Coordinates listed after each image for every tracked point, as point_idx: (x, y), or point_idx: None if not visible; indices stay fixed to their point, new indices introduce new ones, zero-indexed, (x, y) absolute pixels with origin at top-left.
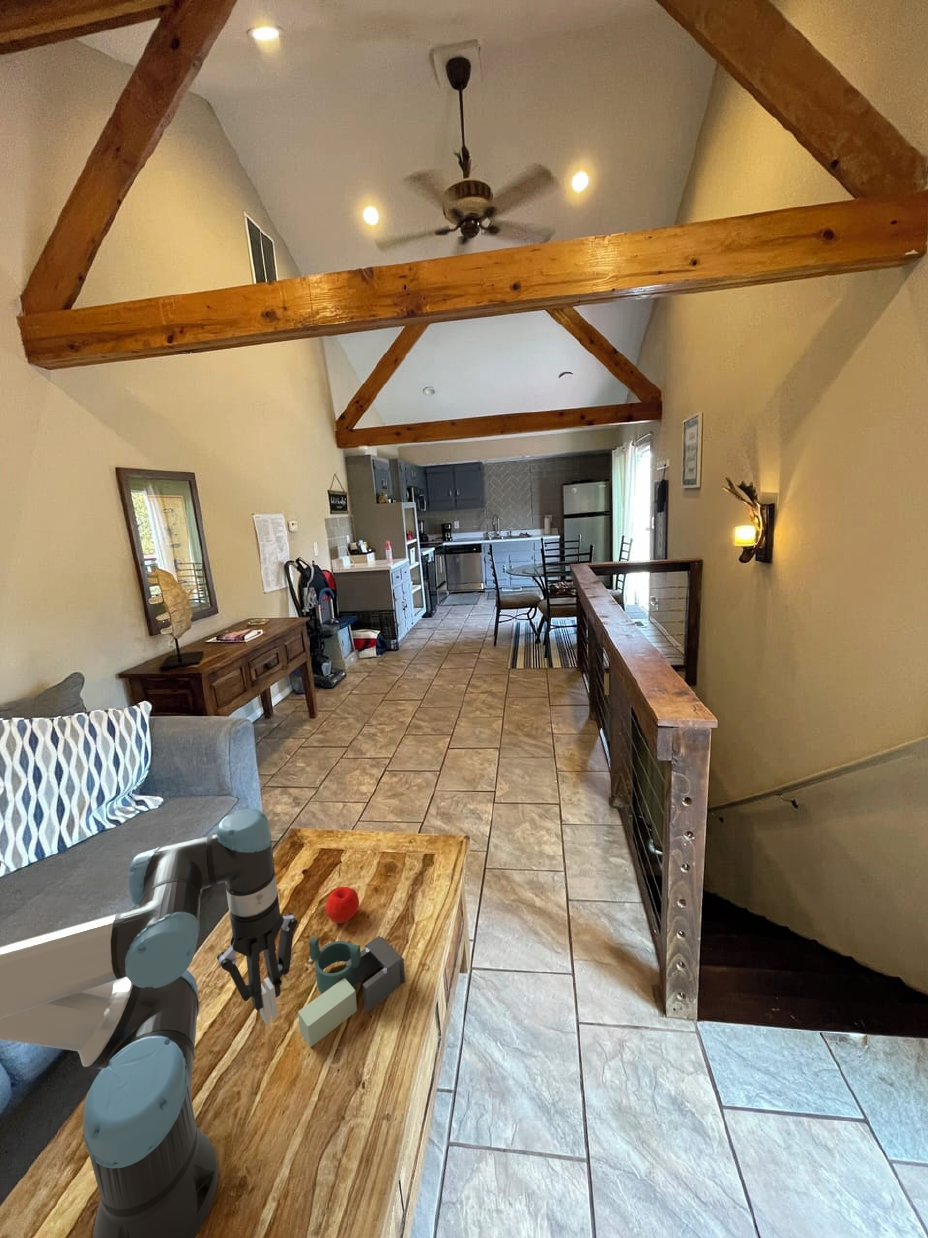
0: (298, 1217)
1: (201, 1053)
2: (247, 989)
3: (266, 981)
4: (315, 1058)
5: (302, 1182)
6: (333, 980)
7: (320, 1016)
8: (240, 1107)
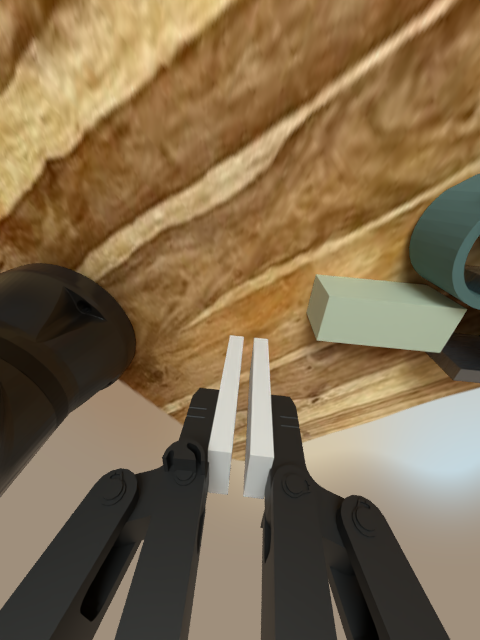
0: None
1: (143, 135)
2: (109, 600)
3: (254, 470)
4: (300, 332)
5: None
6: (448, 290)
7: (348, 343)
8: (180, 305)
